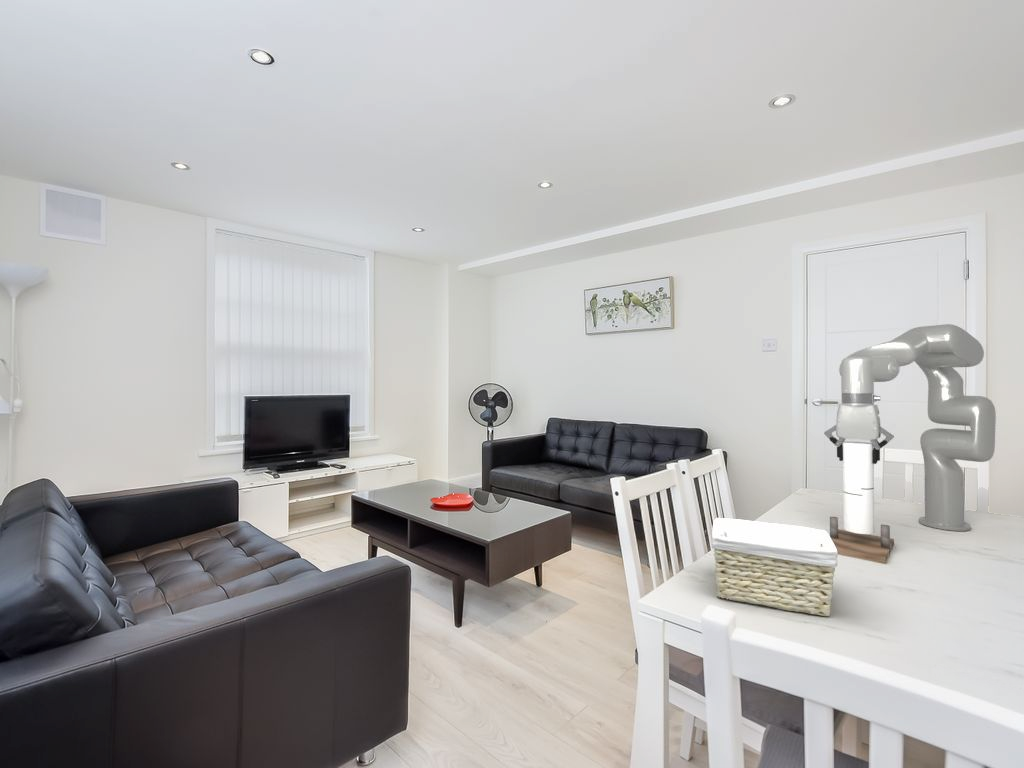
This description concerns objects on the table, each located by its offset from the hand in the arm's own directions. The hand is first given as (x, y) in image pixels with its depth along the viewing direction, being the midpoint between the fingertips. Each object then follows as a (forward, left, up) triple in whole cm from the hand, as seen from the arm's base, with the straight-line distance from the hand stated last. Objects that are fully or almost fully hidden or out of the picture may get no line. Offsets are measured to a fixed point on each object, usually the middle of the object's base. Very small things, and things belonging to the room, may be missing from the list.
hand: (858, 461), depth 136 cm
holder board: (0, 0, -25) cm, 25 cm away
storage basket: (+50, -10, -25) cm, 56 cm away
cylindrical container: (0, 0, -20) cm, 20 cm away
